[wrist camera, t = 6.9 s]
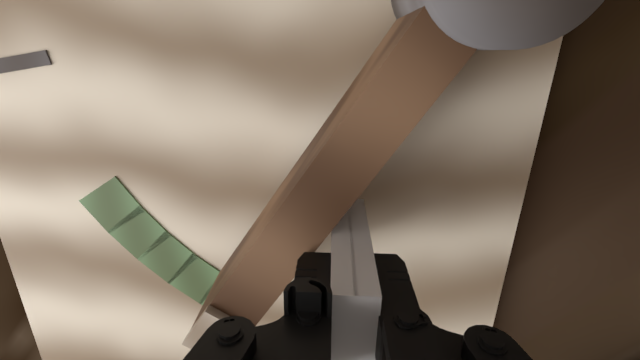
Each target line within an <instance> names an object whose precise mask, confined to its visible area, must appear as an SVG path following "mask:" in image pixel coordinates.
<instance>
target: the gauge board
mask: <svg viewBox="0 0 640 360" xmlns="http://www.w3.org/2000/svg"><path fill="white" fill-rule="evenodd" d="M396 20H397V19H396V17H395V15H394V12H393V8H392V4H391V0H0V238H1V241H2V244H3V247H4V249H5V252H6V255H7V258H8V261H9V264H10V267H11V270H12V273H13V276H14V279H15V282H16V285H17V288H18V290H19V293H20V296H21V299H22V302H23V305H24V308H25V311H26V314H27V317H28V320H29V323H30V326H31V329H32V331H33V334H34V337H35V340H36V343H37V346H38V349H39V352H40V355H41V358H42V360H183V359H184V357H185V356H186V355H187V354H188V352H189V351H190V350H191V349H190V348H188V347H186V346H184V345H182V343H183V341H184V339H185V337H186V335H187V334H188V333H189V331H190V330H191V328H192V326H193V324H194V322H195V320H196V318H197V316H198V314H199V312H200V310H201V308H202V306H203V304H204V302H205V300H206V298H207V296H208V294H209V292H210V290H211V288H212V286H213V284H214V282H215V280H216V278H217V276H218V274H219V272H220V271H221V269H222V268H223V266H224V265H225V264H226V262H227V261H228V259H229V258H230V257H231V255H232V254H233V252H234V251H235V249H236V248H237V247H238V245H239V244H240V242H241V241H242V239H243V238H244V237H245V235H246V234H247V232H248V231H249V229H250V228H251V227H252V225H253V224H254V222H255V221H256V219H257V218H258V217H259V215H260V214H261V212H262V211H263V209H264V208H265V207H266V205H267V204H268V202H269V201H270V199H271V198H272V197H273V195H274V194H275V192H276V191H277V189H278V188H279V187H280V185H281V184H282V182H283V181H284V179H285V178H286V177H287V175H288V174H289V172H290V171H291V169H292V168H293V167H294V165H295V164H296V162H297V161H298V159H299V158H300V157H301V155H302V154H303V152H304V151H305V149H306V148H307V147H308V145H309V144H310V142H311V141H312V139H313V138H314V137H315V135H316V134H317V132H318V131H319V129H320V128H321V127H322V125H323V124H324V122H325V121H326V119H327V118H328V117H329V115H330V114H331V112H332V111H333V109H334V108H335V107H336V105H337V104H338V102H339V101H340V100H341V98H342V97H343V95H344V94H345V92H346V91H347V90H348V88H349V87H350V85H351V84H352V82H353V81H354V80H355V78H356V77H357V75H358V74H359V72H360V71H361V70H362V68H363V67H364V65H365V64H366V62H367V61H368V60H369V58H370V57H371V55H372V54H373V52H374V51H375V50H376V48H377V47H378V45H379V44H380V42H381V41H382V40H383V38H384V37H385V35H386V34H387V32H388V31H389V30H390V28H391V27H392V25H393V24H394V22H395V21H396ZM562 39H563V36H561V37H560V38H558V39H556V40H554V41H551V42H548V43H546V44H543V45H540V46H536V47H532V48H528V49H520V50H476V51H475V52H474V54H473V55H472V56H471V57H470V59H469V60H468V61H467V62H466V64H465V65H464V66H463V67H462V69H461V70H460V71H459V72H458V74H457V75H456V76H455V77H454V79H453V80H452V81H451V82H450V84H449V85H448V86H447V87H446V89H445V90H444V91H443V92H442V94H441V95H440V96H439V97H438V99H437V100H436V101H435V102H434V104H433V105H432V106H431V107H430V109H429V110H428V111H427V112H426V114H425V115H424V116H423V117H422V119H421V120H420V121H419V122H418V124H417V125H416V126H415V127H414V129H413V130H412V131H411V132H410V134H409V135H408V136H407V137H406V139H405V140H404V141H403V142H402V144H401V145H400V146H399V147H398V149H397V150H396V151H395V152H394V154H393V155H392V156H391V157H390V159H389V160H388V161H387V162H386V164H385V165H384V166H383V167H382V169H381V170H380V171H379V172H378V174H377V175H376V176H375V177H374V179H373V180H372V181H371V182H370V184H369V185H368V186H367V187H366V189H365V190H364V191H363V192H362V194H361V195H360V196H359V197H358V199H364V205H365V210H366V215H367V220H368V226H369V231H370V236H371V241H372V247H373V252H374V253H380V254H397V255H398V256H399V257H400V258H401V259H402V260H403V261H404V262H405V264H406V267H407V270H408V273H409V276H410V281H411V282H412V286H413V289H414V292H415V295H416V298H417V301H418V304H419V307H420V309H421V310H422V311H423V312H425V313H426V314H427V315H428V316H429V318H430V319H431V321H432V324H434V325H435V326H437V327H439V328H441V329H444V330H447V331H450V332H454V333H457V334H461V335H464V332H465V331H466V330H467V329H468V328H469V327H471V326H474V325H487V326H491V327H493V323H494V319H495V315H496V311H497V307H498V303H499V299H500V294H501V290H502V286H503V282H504V278H505V274H506V270H507V266H508V261H509V257H510V253H511V249H512V245H513V241H514V237H515V233H516V229H517V224H518V220H519V216H520V212H521V208H522V204H523V200H524V196H525V191H526V187H527V183H528V179H529V175H530V171H531V167H532V163H533V158H534V154H535V150H536V146H537V142H538V138H539V134H540V130H541V125H542V121H543V117H544V113H545V109H546V105H547V101H548V97H549V93H550V88H551V84H552V80H553V76H554V72H555V68H556V64H557V60H558V55H559V51H560V47H561V43H562ZM315 252H324V253H331V232H330V234H329V235H328V236H327V237H326V239H325V240H324V241H323V242H322V244H321V245H320V246H319V247H318V249H317V250H316V251H315ZM294 278H295V277H294ZM293 280H294V279H293ZM293 280H292V281H293ZM292 281H291V282H292ZM283 315H284V294H283V292H282V294H281V295H280V296H279V297H278V299H277V300H276V301H275V302H274V304H273V305H272V306H271V307H270V309H269V310H268V311H267V312H266V314H265V315H264V316H263V317H262V319H261V320H260V321H259V322H258V324H257V325H256V326H260V325H265V324H269V323H272V322H274V321H276V320H278V319H280V318H281V317H282V316H283ZM256 326H255V327H256Z"/></svg>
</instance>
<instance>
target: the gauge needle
mask: <svg viewBox="0 0 640 360" xmlns="http://www.w3.org/2000/svg"><path fill="white" fill-rule="evenodd" d="M603 2H604V0H391V4H392V8H393V12H394V15H395V17H396V19H397V20H396V21H395V22H394V24H393V25H392V27H391V28H390V30H389V31H388V32H387V34H386V35H385V37H384V38H383V40H382V41H381V42H380V44H379V45H378V47H377V48H376V50H375V51H374V52H373V54H372V55H371V57H370V58H369V60H368V61H367V62H366V64H365V65H364V67H363V68H362V70H361V71H360V72H359V74H358V75H357V77H356V78H355V80H354V81H353V82H352V84H351V85H350V87H349V88H348V90H347V91H346V92H345V94H344V95H343V97H342V98H341V100H340V101H339V102H338V104H337V105H336V107H335V108H334V109H333V111H332V112H331V114H330V115H329V117H328V118H327V119H326V121H325V122H324V124H323V125H322V127H321V128H320V129H319V131H318V132H317V134H316V135H315V137H314V138H313V139H312V141H311V142H310V144H309V145H308V147H307V148H306V149H305V151H304V152H303V154H302V155H301V157H300V158H299V159H298V161H297V162H296V164H295V165H294V167H293V168H292V169H291V171H290V172H289V174H288V175H287V177H286V178H285V179H284V181H283V182H282V184H281V185H280V187H279V188H278V189H277V191H276V192H275V194H274V195H273V197H272V198H271V199H270V201H269V202H268V204H267V205H266V207H265V208H264V209H263V211H262V212H261V214H260V215H259V217H258V218H257V219H256V221H255V222H254V224H253V225H252V227H251V228H250V229H249V231H248V232H247V234H246V235H245V237H244V238H243V239H242V241H241V242H240V244H239V245H238V247H237V248H236V249H235V251H234V252H233V254H232V255H231V257H230V258H229V259H228V261H227V262H226V264H225V265H224V266H223V268H222V269H221V271H220V272H219V274H218V276H217V278H216V280H215V282H214V284H213V286H212V288H211V290H210V292H209V294H208V296H207V298H206V300H205V302H204V304H203V306H202V308H201V310H200V312H199V314H198V316H197V318H196V320H195V322H194V324H193V326H192V328H191V330H190V331H189V333H188V334H187V335H186V337H185V339H184V341H183V343H182V345H184V346H186V347H188V348H190V349H192V347H193V346H194V345H195V344H196V342H197V341H198V340H199V339H200V337H201V336H202V335H203V334H204V332H205V331H206V330H207V329H208V328H209V327H210V326H211V325H212V324H213V323H214V322H216V321H218V320H220V319H222V318H225V317H230V316H242V317H245V318H247V319H249V320H250V321H251V322H252V323H253V324H254V325H255V326H256V325H257V324H258V322H259V321H260V320H261V319H262V317H263V316H264V315H265V314H266V312H267V311H268V310H269V309H270V307H271V306H272V305H273V304H274V302H275V301H276V300H277V299H278V297H279V296H280V295H281V294H282V292H283V291H284V289H285V287H286V285H288V284H289V283H290V282H291V281H292V280H293V279H294V277H295V271H296V266H297V260H298V259H299V257H300V256H301V255H302V254H303V253H304V252H315V251H316V250H317V249H318V247H319V246H320V245H321V244H322V242H323V241H324V240H325V239H326V237H327V236H328V235H329V234H330V232H331V231H332V230H333V229H334V227H335V226H336V225H337V224H338V222H339V221H340V220H341V219H342V217H343V216H344V215H345V214H346V212H347V211H348V210H349V209H350V207H351V206H352V205H353V204H354V202H355V201H356V200H357V199H358V197H359V196H360V195H361V194H362V192H363V191H364V190H365V189H366V187H367V186H368V185H369V184H370V182H371V181H372V180H373V179H374V177H375V176H376V175H377V174H378V172H379V171H380V170H381V169H382V167H383V166H384V165H385V164H386V162H387V161H388V160H389V159H390V157H391V156H392V155H393V154H394V152H395V151H396V150H397V149H398V147H399V146H400V145H401V144H402V142H403V141H404V140H405V139H406V137H407V136H408V135H409V134H410V132H411V131H412V130H413V129H414V127H415V126H416V125H417V124H418V122H419V121H420V120H421V119H422V117H423V116H424V115H425V114H426V112H427V111H428V110H429V109H430V107H431V106H432V105H433V104H434V102H435V101H436V100H437V99H438V97H439V96H440V95H441V94H442V92H443V91H444V90H445V89H446V87H447V86H448V85H449V84H450V82H451V81H452V80H453V79H454V77H455V76H456V75H457V74H458V72H459V71H460V70H461V69H462V67H463V66H464V65H465V64H466V62H467V61H468V60H469V59H470V57H471V56H472V55H473V54H474V52H475V51H476V50H520V49H528V48H532V47H536V46H540V45H543V44H546V43H548V42H551V41H554V40H556V39H558V38H560V37H561V36H563V35H565V34H567V33H568V32H570V31H571V30H573V29H574V28H576V27H577V26H579V25H580V24H581V23H582V22H584V21H585V20H586V19H587V18H588V17H590V16H591V15H592V13H593V12H594V11H595V10H596V9H597V8H598V7H599V6H600V5H601V4H602V3H603Z"/></svg>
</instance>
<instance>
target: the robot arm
mask: <svg viewBox="0 0 640 360" xmlns="http://www.w3.org/2000/svg"><path fill="white" fill-rule="evenodd" d="M283 294H284V315H283V316H282V317H281V318H280V319H278V320H276V321H274V322H272V323H269V324H265V325H260V326H256V327H255V325H254V324H253V323H252V322H251V321H250V320H249V319H247V318H245V317H242V316H230V317H225V318H222V319H220V320H218V321H216V322H214V323H213V324H212V325H211V326H210V327H209V328H208V329H207V330H206V331H205V332H204V334H203V335H202V336H201V337H200V339H199V340H198V341H197V342H196V344H195V345H194V346H193V347H192V349H191V350H190V351H189V352H188V354H187V355H186V356H185V357H184V359H183V360H532V359H531V357H530V356H529V355H528V354H527V353H526V352H525V351H524V350H523V349H522V348H521V347H520V346H519V345H518V343H517V342H516V341H515V340H514V339H512V338H511V337H510V336H509V335H508V334H506V333H505V332H503V331H501V330H499V329H497V328H495V327H491V326H487V325H474V326H471V327H469V328H468V329H467V330H466V331H465V332H464V335H461V334H457V333H454V332H450V331H447V330H444V329H441V328H439V327H437V326H435V325H434V324H432V321H431V319H430V318H429V316H428V315H427V314H426V313H425V312H423V311H422V310H421V309H420V307H419V304H418V301H417V298H416V295H415V292H414V289H413V286H412V282H411V281H410V276H409V273H408V270H407V267H406V264H405V262H404V261H403V260H402V259H401V258H400V257H399V256H398V255H397V254H380V253H374V252H373V247H372V241H371V236H370V231H369V226H368V220H367V215H366V210H365V205H364V199H357V200H356V201H355V202H354V204H353V205H352V206H351V207H350V209H349V210H348V211H347V212H346V214H345V215H344V216H343V217H342V219H341V220H340V221H339V222H338V224H337V225H336V226H335V227H334V229H333V230H332V231H331V253H324V252H304V253H303V254H302V255H301V256H300V257H299V259H298V260H297V266H296V271H295V278H294V280H293V281H292V282H290V283H289V284H288V285H286V287H285V289H284V291H283Z"/></svg>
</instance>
